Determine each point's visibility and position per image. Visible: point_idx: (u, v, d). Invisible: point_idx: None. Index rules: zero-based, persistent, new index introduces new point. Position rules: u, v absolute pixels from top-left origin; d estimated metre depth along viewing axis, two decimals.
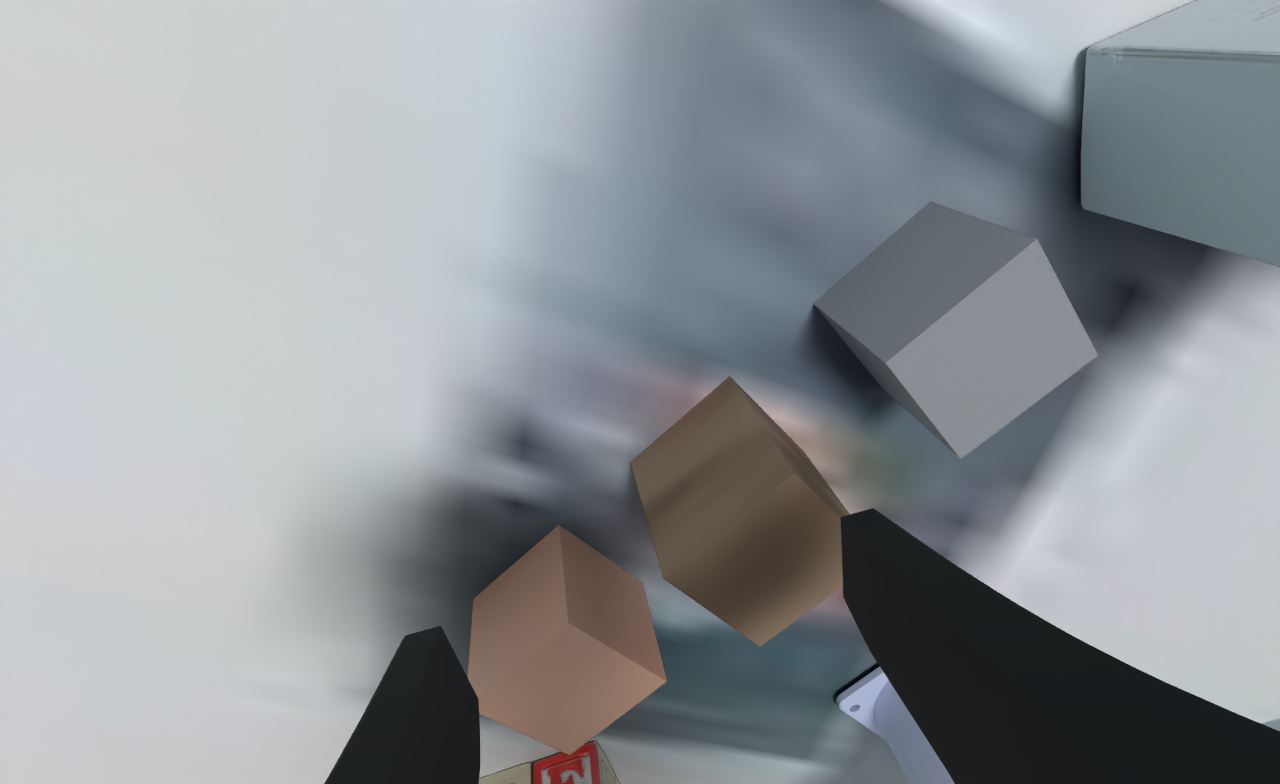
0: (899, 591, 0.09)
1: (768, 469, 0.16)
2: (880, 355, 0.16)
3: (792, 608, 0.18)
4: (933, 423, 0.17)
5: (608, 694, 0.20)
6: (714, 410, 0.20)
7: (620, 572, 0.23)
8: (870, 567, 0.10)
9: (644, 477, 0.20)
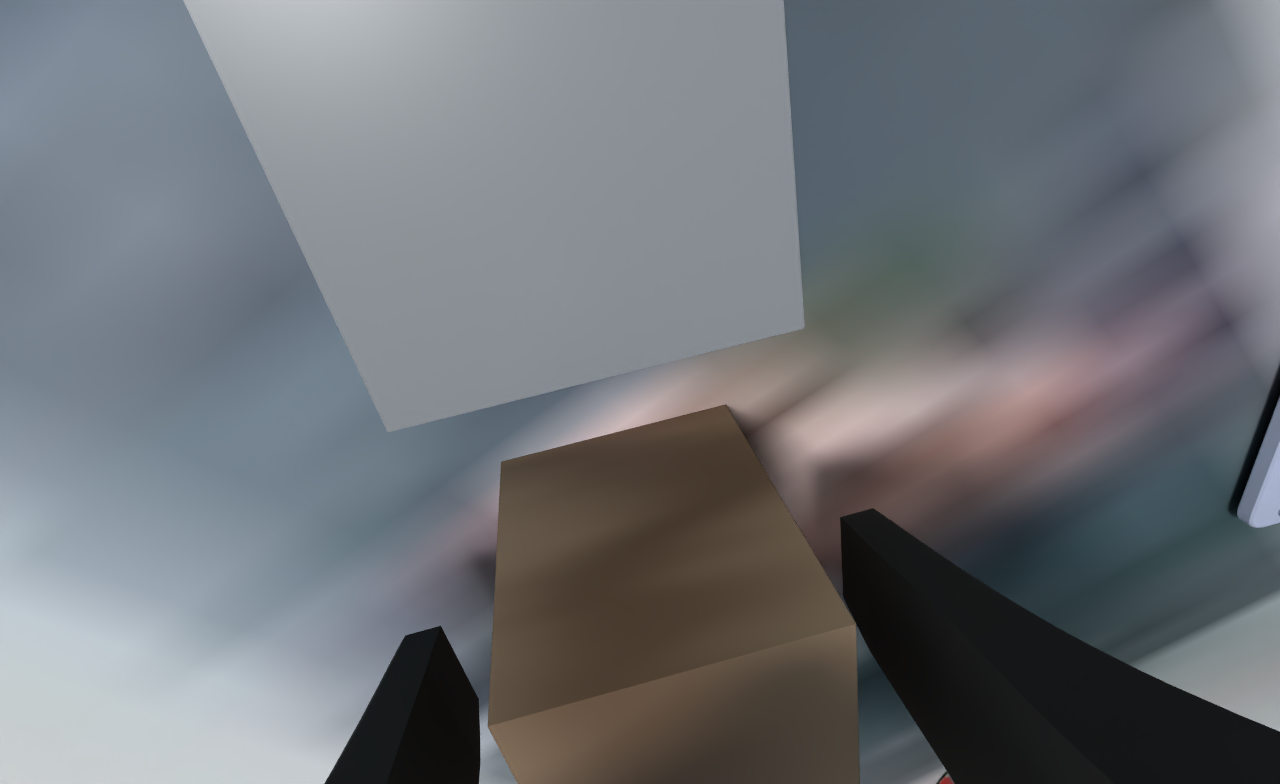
0: (899, 591, 0.09)
1: None
2: (392, 409, 0.07)
3: (826, 768, 0.09)
4: (644, 365, 0.07)
5: None
6: None
7: None
8: (870, 567, 0.10)
9: None
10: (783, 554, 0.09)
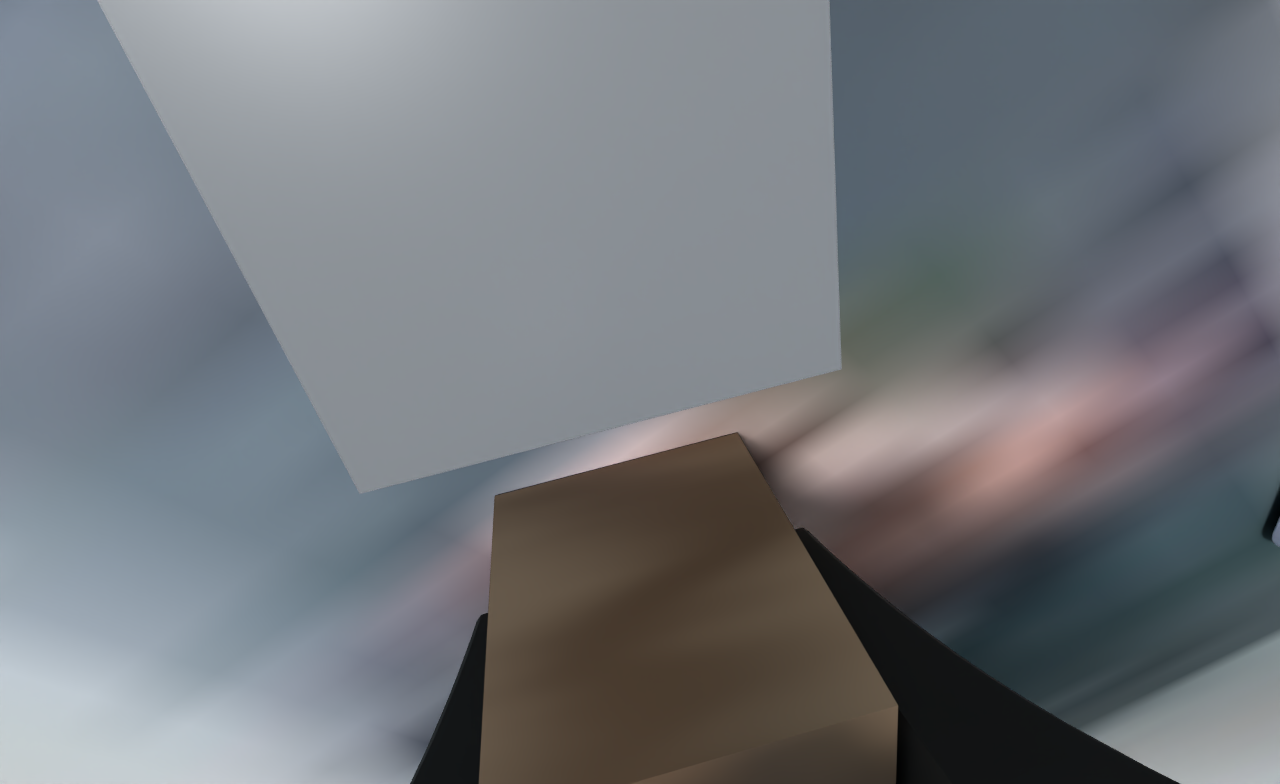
0: None
1: None
2: (365, 466, 0.06)
3: None
4: (657, 413, 0.06)
5: None
6: None
7: None
8: None
9: None
10: (811, 616, 0.08)
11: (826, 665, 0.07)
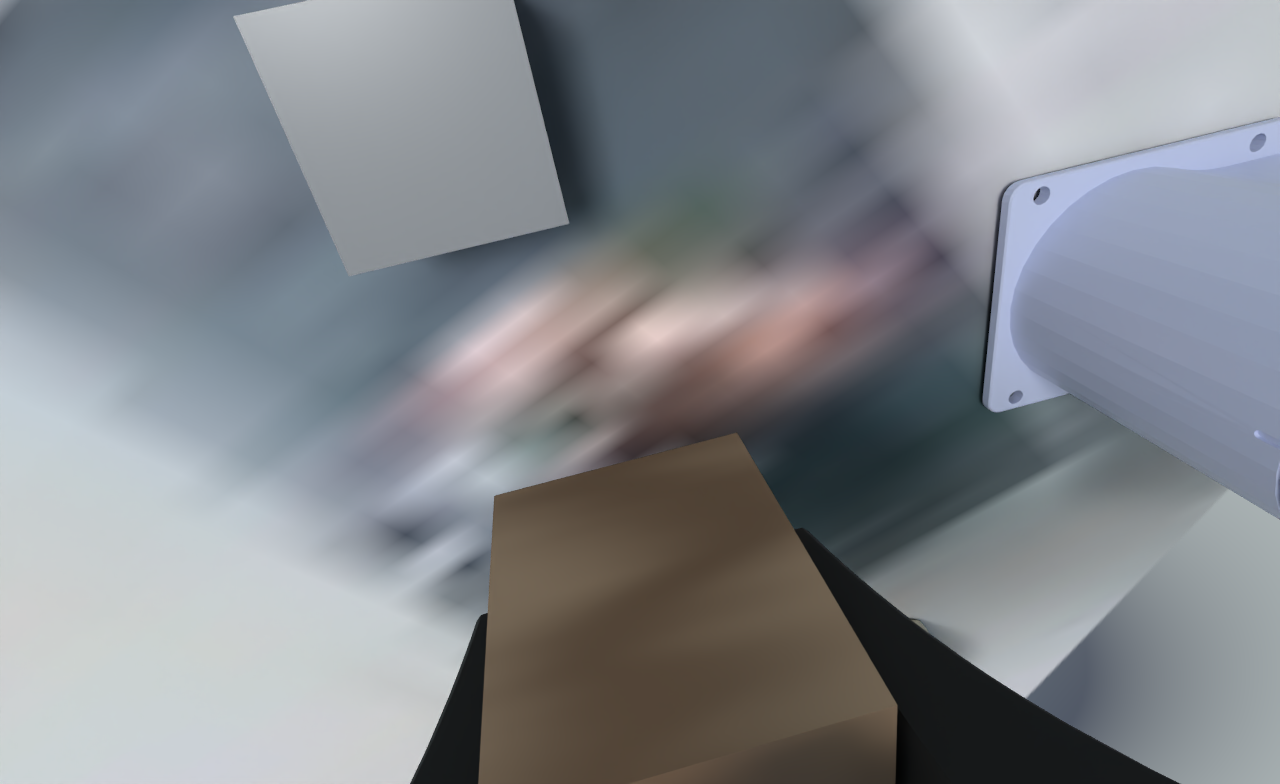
0: None
1: None
2: (352, 268, 0.13)
3: None
4: (484, 242, 0.13)
5: None
6: None
7: None
8: None
9: None
10: (810, 615, 0.08)
11: (825, 665, 0.07)
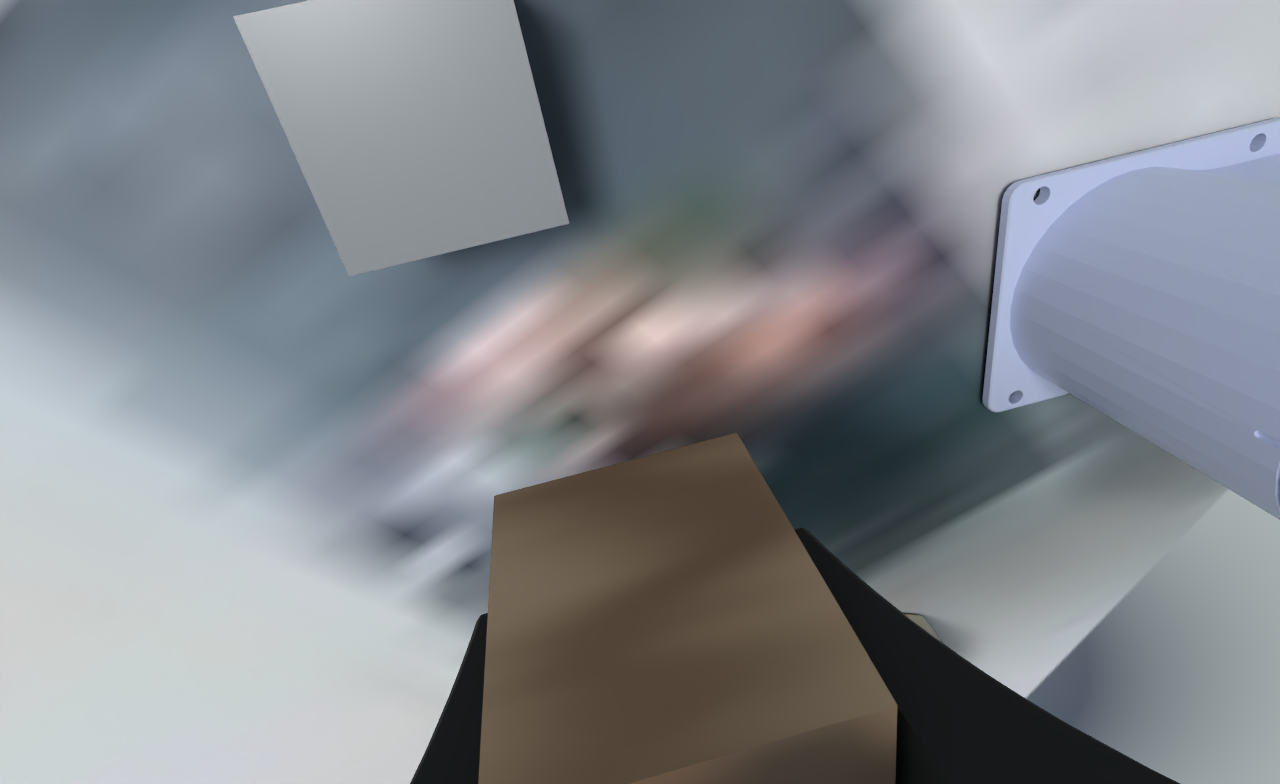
0: None
1: None
2: (352, 268, 0.13)
3: None
4: (484, 242, 0.12)
5: None
6: None
7: None
8: None
9: None
10: (810, 615, 0.08)
11: (825, 665, 0.07)
